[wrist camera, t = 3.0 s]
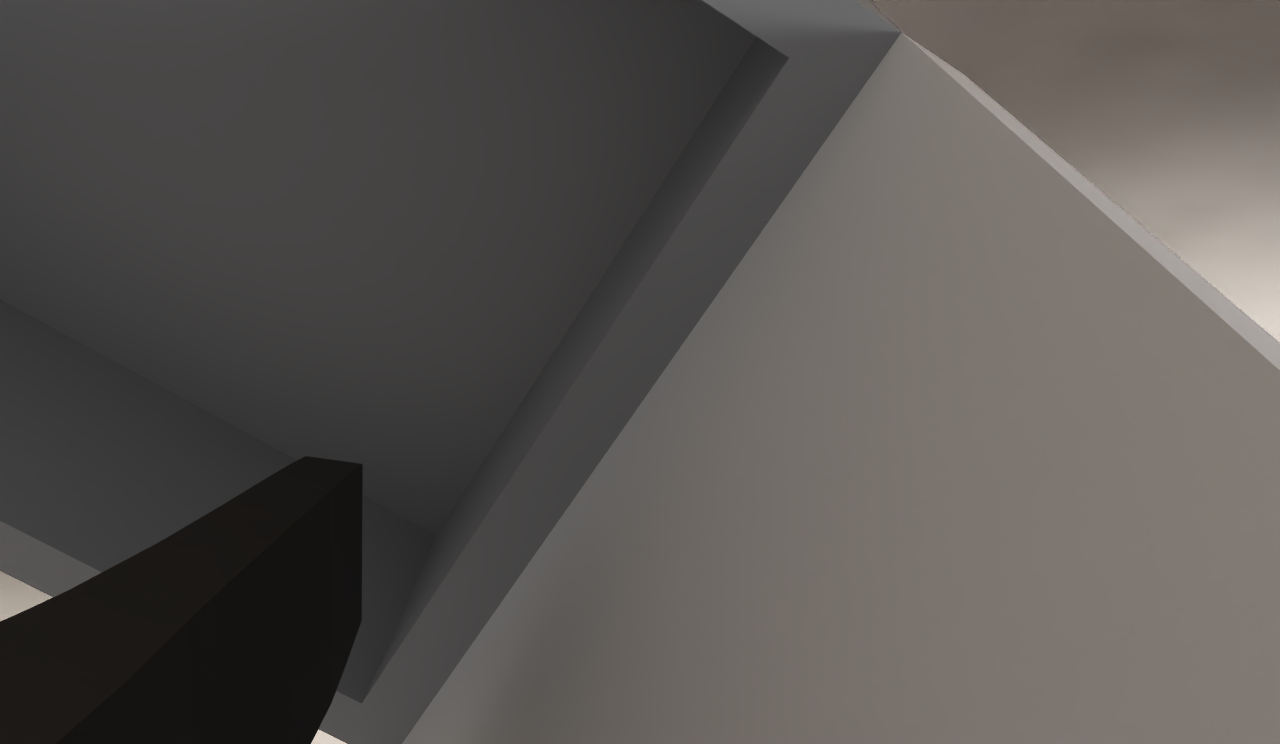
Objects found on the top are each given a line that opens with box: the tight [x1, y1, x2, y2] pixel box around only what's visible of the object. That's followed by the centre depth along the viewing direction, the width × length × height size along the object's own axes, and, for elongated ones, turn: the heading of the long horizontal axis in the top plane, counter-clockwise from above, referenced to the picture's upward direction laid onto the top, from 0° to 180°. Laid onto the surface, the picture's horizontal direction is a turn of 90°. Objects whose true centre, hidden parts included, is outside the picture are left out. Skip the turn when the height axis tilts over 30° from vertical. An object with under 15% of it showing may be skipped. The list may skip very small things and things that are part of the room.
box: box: [0, 0, 902, 744], centre depth 14 cm, size 14×12×5 cm
